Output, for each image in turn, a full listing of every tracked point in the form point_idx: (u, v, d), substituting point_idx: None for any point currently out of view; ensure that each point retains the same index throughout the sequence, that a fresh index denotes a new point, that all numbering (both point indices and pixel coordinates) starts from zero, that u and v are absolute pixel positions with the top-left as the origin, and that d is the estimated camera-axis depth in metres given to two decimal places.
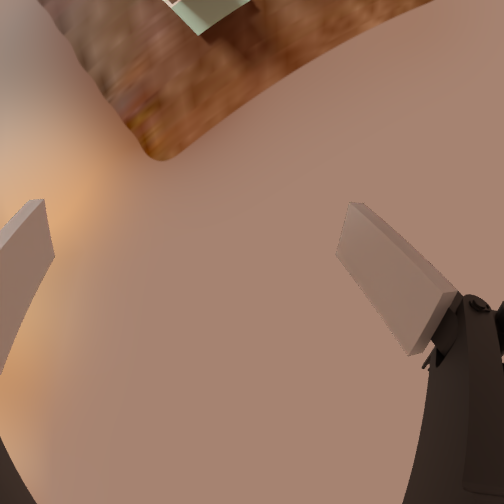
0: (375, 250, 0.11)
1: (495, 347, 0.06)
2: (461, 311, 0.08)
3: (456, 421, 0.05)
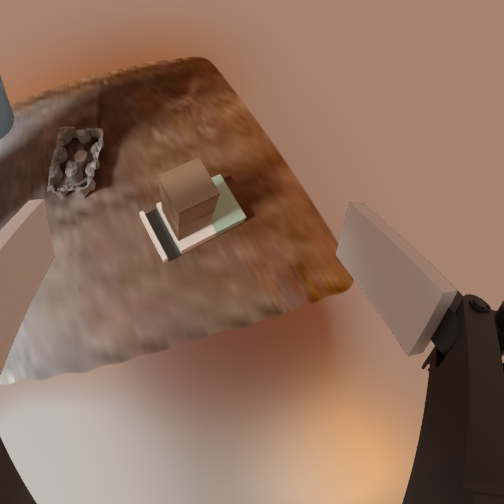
0: (376, 250, 0.11)
1: (495, 347, 0.06)
2: (461, 311, 0.08)
3: (456, 420, 0.05)
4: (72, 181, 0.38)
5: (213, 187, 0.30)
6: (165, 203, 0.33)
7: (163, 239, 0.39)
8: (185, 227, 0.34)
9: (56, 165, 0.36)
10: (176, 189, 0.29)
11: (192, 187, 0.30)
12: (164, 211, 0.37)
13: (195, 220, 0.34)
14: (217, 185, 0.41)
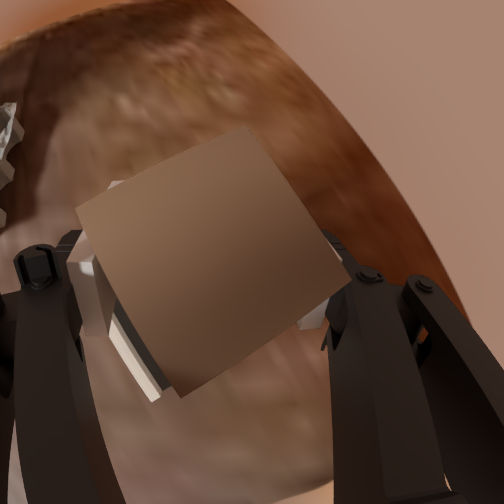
0: None
1: (396, 321, 0.07)
2: (348, 287, 0.08)
3: (364, 417, 0.05)
4: None
5: (323, 255, 0.07)
6: None
7: None
8: None
9: None
10: (159, 277, 0.06)
11: (232, 263, 0.06)
12: None
13: None
14: None
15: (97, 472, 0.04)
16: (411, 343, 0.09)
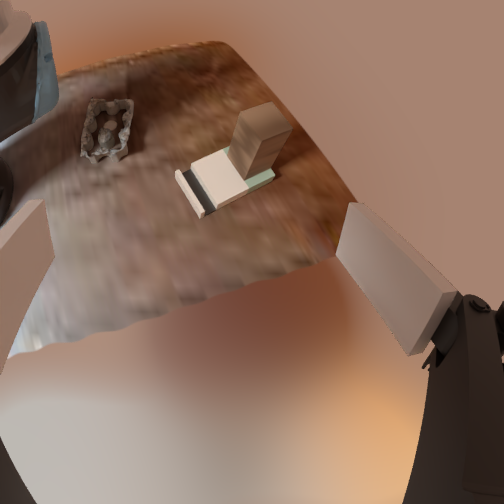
0: (376, 250, 0.11)
1: (495, 347, 0.06)
2: (461, 311, 0.08)
3: (456, 421, 0.05)
4: (104, 147, 0.40)
5: (287, 123, 0.34)
6: (239, 141, 0.37)
7: (198, 196, 0.42)
8: (256, 163, 0.38)
9: (88, 133, 0.39)
10: (257, 123, 0.33)
11: (270, 122, 0.33)
12: (231, 153, 0.41)
13: (265, 156, 0.38)
14: None
15: None
16: None
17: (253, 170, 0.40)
